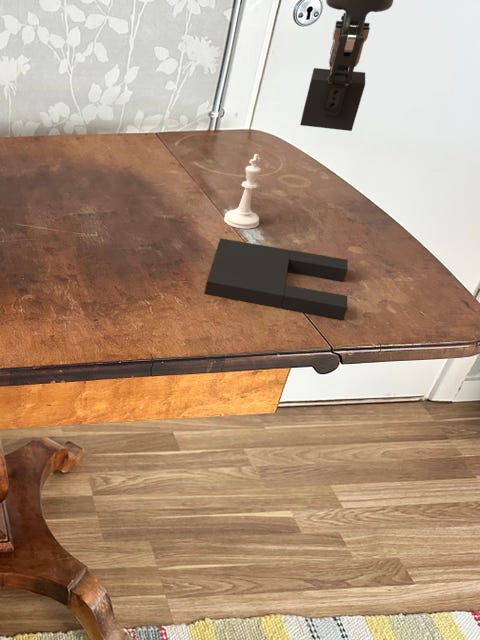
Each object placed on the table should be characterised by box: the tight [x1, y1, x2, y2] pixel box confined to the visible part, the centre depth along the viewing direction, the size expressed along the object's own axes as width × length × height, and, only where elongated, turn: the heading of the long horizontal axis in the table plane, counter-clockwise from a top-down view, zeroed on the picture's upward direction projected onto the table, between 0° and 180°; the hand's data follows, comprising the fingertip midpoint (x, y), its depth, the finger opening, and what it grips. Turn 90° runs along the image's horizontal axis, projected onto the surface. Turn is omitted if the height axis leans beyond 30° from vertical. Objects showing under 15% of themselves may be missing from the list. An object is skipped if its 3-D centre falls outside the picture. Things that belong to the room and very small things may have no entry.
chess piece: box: [223, 153, 262, 230], centre depth 99 cm, size 5×5×10 cm
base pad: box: [204, 237, 349, 321], centre depth 88 cm, size 16×12×2 cm
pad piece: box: [299, 67, 366, 132], centre depth 93 cm, size 6×6×6 cm
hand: (330, 106), depth 94 cm, fingers closed on pad piece, 5 cm apart
